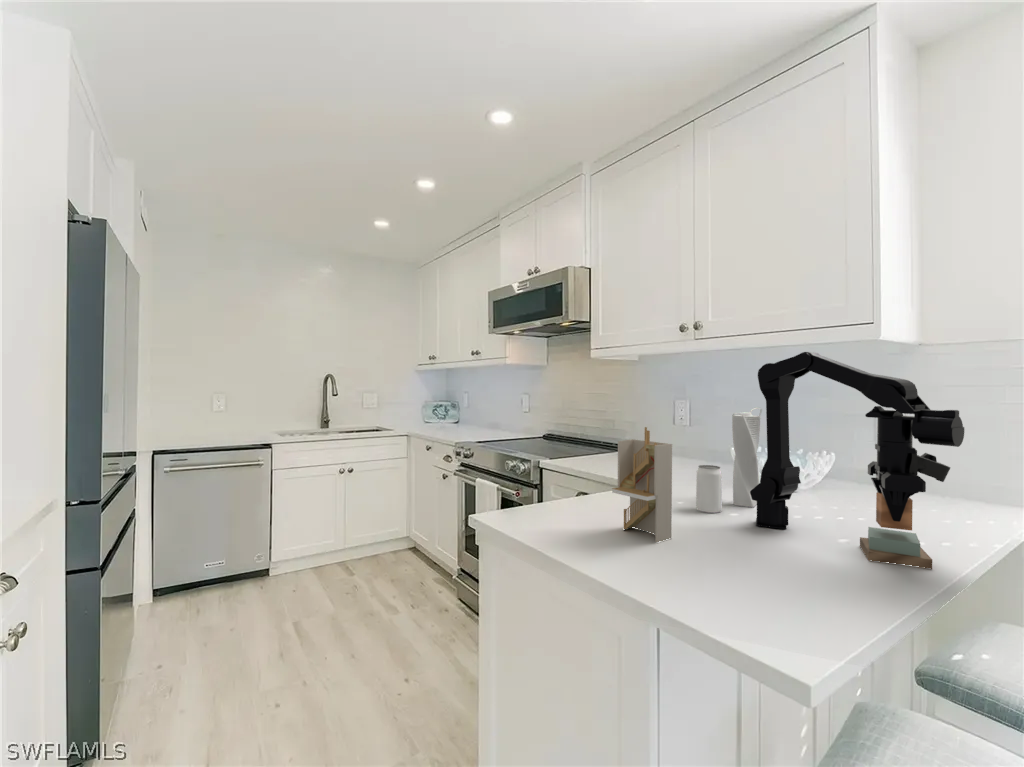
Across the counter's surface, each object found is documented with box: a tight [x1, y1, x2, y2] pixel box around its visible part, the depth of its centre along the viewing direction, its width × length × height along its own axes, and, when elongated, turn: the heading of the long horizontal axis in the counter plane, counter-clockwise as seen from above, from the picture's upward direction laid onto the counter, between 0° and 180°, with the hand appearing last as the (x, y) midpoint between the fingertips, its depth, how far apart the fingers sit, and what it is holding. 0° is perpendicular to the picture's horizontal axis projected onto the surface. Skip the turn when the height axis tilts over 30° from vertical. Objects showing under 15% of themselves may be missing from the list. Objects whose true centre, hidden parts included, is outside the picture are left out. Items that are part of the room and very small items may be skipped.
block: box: [875, 491, 913, 532], centre depth 103 cm, size 5×5×6 cm
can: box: [695, 464, 723, 514], centre depth 139 cm, size 6×6×12 cm
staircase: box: [611, 426, 673, 542], centre depth 116 cm, size 8×12×26 cm
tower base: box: [859, 536, 933, 570], centre depth 103 cm, size 10×10×2 cm
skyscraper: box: [731, 406, 763, 509], centre depth 146 cm, size 8×8×28 cm
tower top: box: [867, 526, 921, 557], centre depth 103 cm, size 8×8×2 cm
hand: (893, 518), depth 103 cm, fingers closed on block, 5 cm apart
